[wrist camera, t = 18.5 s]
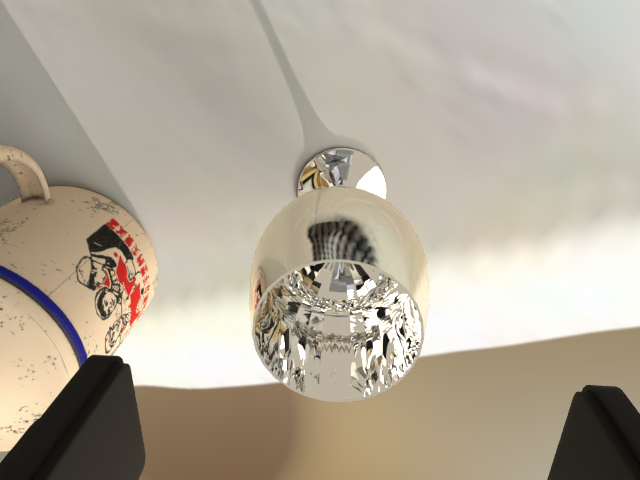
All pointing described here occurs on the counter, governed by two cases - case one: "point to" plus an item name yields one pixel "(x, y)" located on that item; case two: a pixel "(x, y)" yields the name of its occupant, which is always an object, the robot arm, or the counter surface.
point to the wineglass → (339, 284)
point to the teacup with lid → (62, 288)
